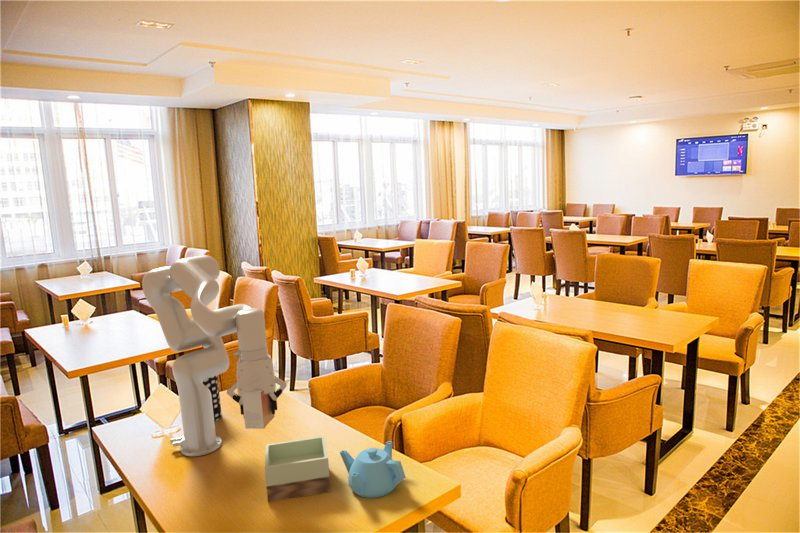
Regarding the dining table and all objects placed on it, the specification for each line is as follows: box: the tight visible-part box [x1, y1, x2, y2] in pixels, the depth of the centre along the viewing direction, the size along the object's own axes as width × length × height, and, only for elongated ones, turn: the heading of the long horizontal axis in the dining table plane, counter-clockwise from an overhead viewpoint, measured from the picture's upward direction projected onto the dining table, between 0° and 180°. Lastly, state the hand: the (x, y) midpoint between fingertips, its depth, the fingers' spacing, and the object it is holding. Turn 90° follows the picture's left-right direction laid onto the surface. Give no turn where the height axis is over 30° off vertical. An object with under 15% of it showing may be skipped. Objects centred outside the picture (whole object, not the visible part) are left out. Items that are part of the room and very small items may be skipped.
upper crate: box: [264, 435, 330, 488], centre depth 149 cm, size 17×13×5 cm
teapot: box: [339, 440, 407, 499], centre depth 146 cm, size 15×15×11 cm
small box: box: [242, 390, 275, 430], centre depth 149 cm, size 8×6×10 cm
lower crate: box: [266, 476, 332, 503], centre depth 150 cm, size 17×13×4 cm
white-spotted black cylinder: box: [202, 375, 223, 423], centre depth 193 cm, size 8×8×20 cm
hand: (259, 414), depth 150 cm, fingers closed on small box, 7 cm apart
